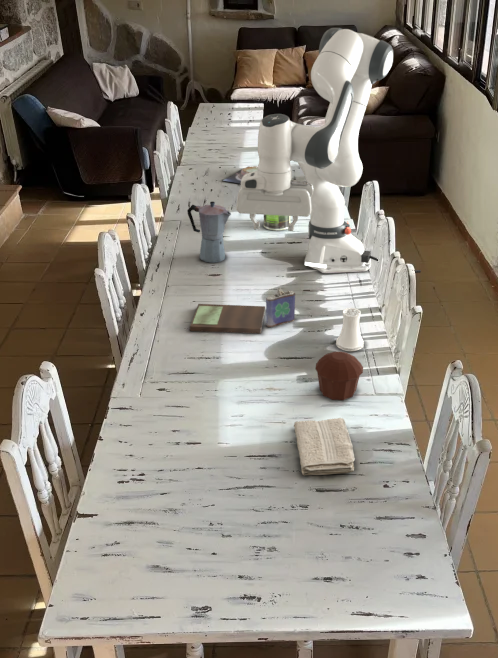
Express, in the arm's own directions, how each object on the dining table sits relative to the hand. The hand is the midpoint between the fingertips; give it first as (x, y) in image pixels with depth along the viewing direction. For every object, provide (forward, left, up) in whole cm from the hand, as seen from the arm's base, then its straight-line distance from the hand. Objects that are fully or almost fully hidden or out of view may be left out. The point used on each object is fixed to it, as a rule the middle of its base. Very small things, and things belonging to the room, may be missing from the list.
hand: (273, 229), depth 200 cm
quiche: (+20, -127, -27) cm, 132 cm away
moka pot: (+25, -39, -27) cm, 54 cm away
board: (+13, +5, -26) cm, 30 cm away
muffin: (-19, +39, -27) cm, 51 cm away
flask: (-2, +5, -27) cm, 27 cm away
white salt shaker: (-22, +16, -27) cm, 38 cm away
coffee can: (+5, -71, -27) cm, 76 cm away
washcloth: (-16, +63, -27) cm, 70 cm away
